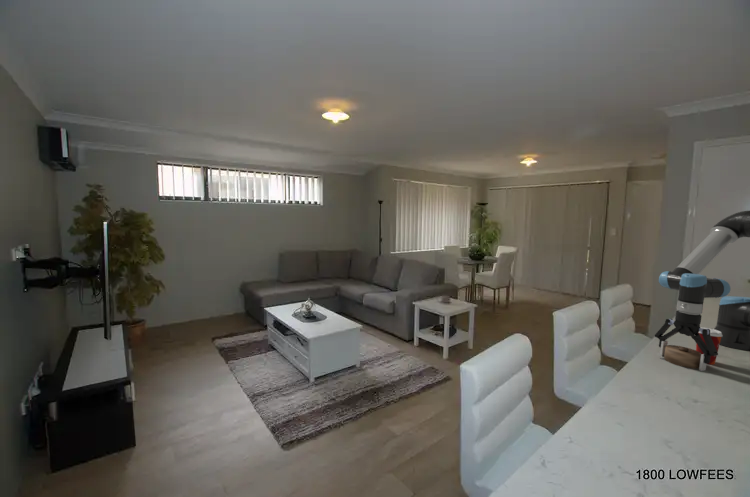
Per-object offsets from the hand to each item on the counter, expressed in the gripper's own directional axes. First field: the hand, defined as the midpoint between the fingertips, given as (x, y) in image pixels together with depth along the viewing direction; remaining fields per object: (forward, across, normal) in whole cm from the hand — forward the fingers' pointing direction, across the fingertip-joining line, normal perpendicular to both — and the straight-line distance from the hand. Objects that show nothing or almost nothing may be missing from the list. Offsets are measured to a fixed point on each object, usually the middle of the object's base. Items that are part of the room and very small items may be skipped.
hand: (681, 362), depth 136 cm
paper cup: (0, +2, +11) cm, 11 cm away
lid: (0, 0, 0) cm, 0 cm away
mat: (0, 0, 0) cm, 0 cm away
